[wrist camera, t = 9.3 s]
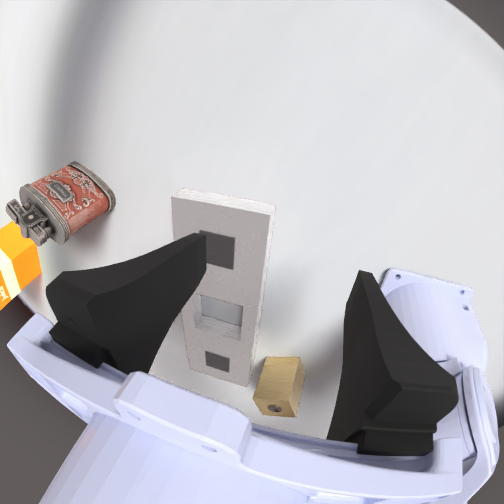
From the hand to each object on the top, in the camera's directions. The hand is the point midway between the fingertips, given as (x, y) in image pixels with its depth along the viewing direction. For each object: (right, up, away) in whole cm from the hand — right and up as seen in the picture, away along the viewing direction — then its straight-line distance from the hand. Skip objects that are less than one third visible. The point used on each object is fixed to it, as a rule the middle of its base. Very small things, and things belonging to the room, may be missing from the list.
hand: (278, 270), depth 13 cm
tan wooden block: (+3, -13, +19) cm, 23 cm away
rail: (-4, -5, +16) cm, 17 cm away
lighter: (-18, +8, +13) cm, 24 cm away
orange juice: (-42, +2, +26) cm, 50 cm away
